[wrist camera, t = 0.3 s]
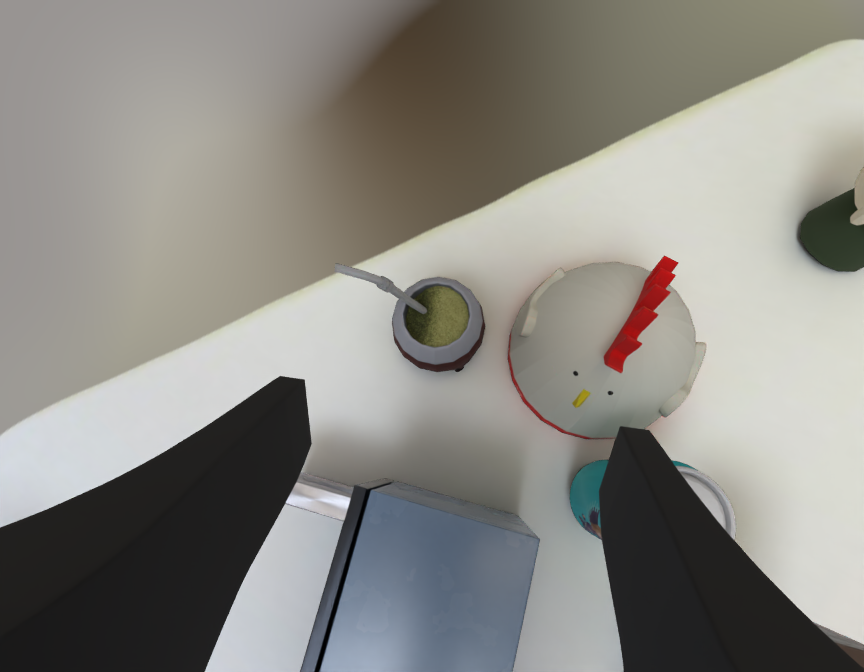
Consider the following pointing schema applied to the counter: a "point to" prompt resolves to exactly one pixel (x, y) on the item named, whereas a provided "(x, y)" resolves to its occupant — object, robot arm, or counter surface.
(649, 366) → the white chicken figure
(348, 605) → the blue-gray cabinet body
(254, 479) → the robot arm
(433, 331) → the mate gourd
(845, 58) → the counter surface
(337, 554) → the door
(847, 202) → the character mug
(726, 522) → the beverage can
